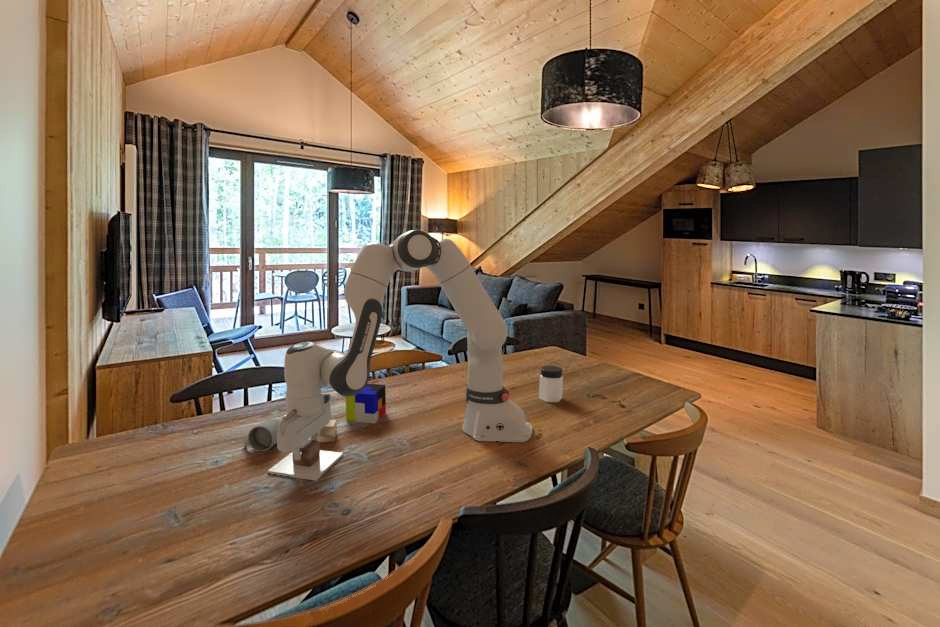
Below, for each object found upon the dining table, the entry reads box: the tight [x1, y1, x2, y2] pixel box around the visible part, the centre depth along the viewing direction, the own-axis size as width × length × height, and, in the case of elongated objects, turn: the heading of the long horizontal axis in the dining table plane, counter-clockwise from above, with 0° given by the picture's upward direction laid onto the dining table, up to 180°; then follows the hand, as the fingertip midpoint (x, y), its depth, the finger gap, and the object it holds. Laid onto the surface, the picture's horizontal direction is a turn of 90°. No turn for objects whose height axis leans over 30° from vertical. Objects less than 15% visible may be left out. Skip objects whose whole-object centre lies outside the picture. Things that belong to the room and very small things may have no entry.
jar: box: [538, 365, 564, 403], centre depth 180 cm, size 9×8×12 cm
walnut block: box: [293, 439, 321, 467], centre depth 128 cm, size 5×5×5 cm
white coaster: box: [267, 449, 344, 482], centre depth 128 cm, size 14×14×1 cm
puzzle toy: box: [344, 383, 387, 424], centre depth 161 cm, size 10×10×10 cm
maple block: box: [318, 419, 338, 443], centre depth 144 cm, size 5×5×5 cm
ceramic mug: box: [243, 418, 281, 453], centre depth 138 cm, size 11×8×8 cm
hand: (306, 452), depth 128 cm, fingers open, 6 cm apart
